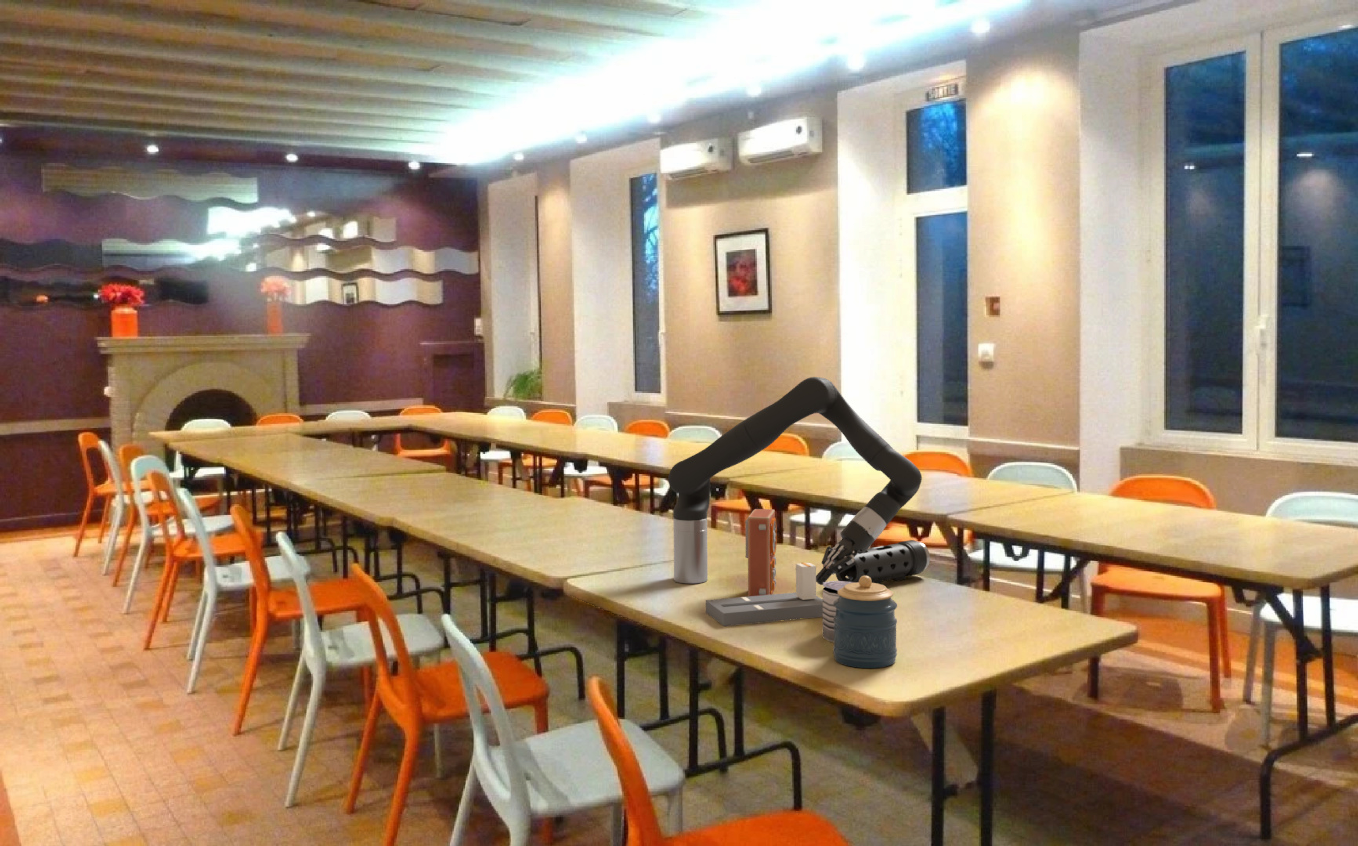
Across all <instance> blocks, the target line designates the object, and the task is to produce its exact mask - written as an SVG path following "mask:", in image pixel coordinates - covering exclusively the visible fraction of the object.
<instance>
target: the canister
mask: <svg viewBox="0 0 1358 846" xmlns="http://www.w3.org/2000/svg"><path fill="white" fill-rule="evenodd" d="M838 595H839V598H838V599H836V600H835V601H834V603H833V604H834V606H835V607H836V615H835V616H834V619H833V620H834V643H833V647H832V648H833V651H832V652H833V655H834V656H833V657H834V660H835V661H836V662H837V663H839V664H842V665H843V666H848V667H852V668H859V669H860V668H861V669H878V668H884V667H888V666H892V665H893V664H894V663H896V661H897V660H896V658H897V655H898V649H897V623H898V619H897V618H896V615H895V610H896V609H897V608H898V603H897V602H896V601H895V600H893V598H892V597H893V596H894V592H893V591H892V590H891V589H889V588H887V587H886V586H885V585H884V584H878V583H872V581H871V578H870V577H869V576H862V577H860V579H859V582H857V583H850V584H847V585H845V586H844V587H843V588H841V589H839V590H838Z"/></svg>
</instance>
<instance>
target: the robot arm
mask: <svg viewBox="0 0 1358 846" xmlns="http://www.w3.org/2000/svg"><path fill="white" fill-rule="evenodd" d="M814 414H819V415H821V416H823V418H825V419H826V420H828V421H829V422H831V423H832V424H833V425H834V426H835V427H836V428H837V429H838V430H839V432H841V433H842V435H843V436H844V438H845V439H846V440H847V442H848V443H849V445H850V446H851V447H852V448H853V450H854V451H855V452H856V453H857V454H858V455H859V456H860V457H861V458H862V459H863V460H864V461H865V462H866V463H867V464H868V465H869V466H871V467H872V469H874V470H875V471H879V472H882V474H883V475H885V477H887V478H888V479H889V482H888V483H887V484H886V485H885V486H884V487H883V488H882V490H881V491H878V492H877V493H876V494H875V495H873V497H872V498H871V499H870V500H869V501H868V502H867V504H865V505H864V507H863V508H861V510H859V511H858V512H857V513H856V514H855V515H854V517H853V518H851V520H850V521H849V522H848V523H847V524H846V525H845V527H844V528H843V529H842V530H841V531H840V534H839V535H840V537H841V540H839V541H838V542H837V543H836V544H835V546H834V547H831V546H830V545H828V546H827V547H826V549H825V552H824V555H823V557H822V560H821V564H822V568H821V570H819V571H818V573H816V584H817V585H820V586H823V582H827V581H828V580H829V578H830V577H831V576H832V575H836V574H840V573H841V572H843V571H845V570H846V569H848V568H850V567H852V566H853V565H855V564H856V561H855V560H854V557H855V556H856V555H857V553H858V552H860V553H864V552H865V551H866V550H867V549H869V548H871V546H872V544H873V543H874V542H875V541H876V540H877V539H878V538H879V536H880V535H881V534H882V533H883V531H884V530H885V528H886V527H887V525H889V524H890V522H891V521H892V520H893V519H894V517H895V516H896V515H897V513H898V512H899V511H900V510H901V509H902V508H903V507H905V505H906V504H907V503H908V502H910V501H911V499H913V498H914V496H915V495H916V494H917V493H918V491H919V489H920V486H921V484H922V479H923V477H922V473H921V471H920V469H919V468H918V466H917V465H915V464H914V462H912V461H911V460H910V459H908V458H907V457H906V456H904V455H902V454H901V453H900V452H898V451H897V450H895V449H894V448H893V447H892V446H891V445H890V444H889V443H888V442H887V441H886V440H885V439H884V438H883V437H882V436H880V434H879V433H877V431H875V430H874V429H873V428H872V427H871V426H870V425H869V424H868V423H867V422H866V421H865V420H864V419H863V418H861V416H860V415H859V414H858V413H857V412H856V411H855V410H854V408H853V407H852V406H851V405H849V403H848V402H847V400H846V399H845V398H844V397H843V395H842V394H841V392H840V391H839V390H838V389H837V387H836V386H835V385H834V383H833V382H832V381H831V380H829V379H827V378H824V377H817V376H811V377H807V378H805V379H804V380H802V381H800V382H799V383H797V384H796V386H795V387H793V388H792V389H790V390H789V391H788V392H787V393H786V394H784V395H783V396H782V397H781V398H779V399H778V400H777V401H775V402H774V403H772V404H769V405H767V407H764V408H763V409H760V410H759V411H758V412H756V413H754V414H752V415H750V416H749V417H747V418H746V419H744V420H743V421H741V422H740V423H738V424H736V425H735V426H733V427H731V429H729V430H727V431H726V432H725V433H724V434H722V435H721V436H719V437H718V438H717V439H716V440H714V441H713V442H712V443H711V444H710V445H708V446H707V447H705V448H704V449H702V450H700V451H699V452H696V453H695V454H693V455H691V456H689V457H687V458H685V459H683V460H681V461H680V460H679V461H678V462H677V463H675V464H674V465H673V466H672V467H671V469H670V471H669V474H668V485H669V487H670V489H671V490H672V491H673V492H675V493H677V495H678V496H677V500H676V503H675V505H674V508H673V509H672V510H673V513H672V516H673V517H672V519H673V525H672V526H673V581H674V582H675V583H676V582H677V583H680V584H701V583H705V582H707V581H708V579H709V577H708V575H709V574H708V572H709V571H708V567H709V565H708V510H709V507H710V502H711V501H710V497H711V496H710V495H711V478H712V477H714V476H715V475H717V474H720V472H722V471H725V470H726V469H729V468H731V467H733V466H736V465H738V464H740V463H742V462H744V461H747V460H748V459H750V458H752V457H754V456H756V455H757V454H758V453H760V452H762V451H764V450H765V449H767V448H768V447H770V446H771V445H772V444H773V443H775V441H776V440H777V439H778V438H779V437H780V436H781V435H782V434H783V433H784V432H785V431H786V430H787V429H789V427H791V426H792V425H794V424H796V423H798V422H799V421H802V419H805V418H807V417H809V416H811V415H814ZM835 573H836V574H835Z"/></svg>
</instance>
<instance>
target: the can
mask: <svg viewBox="0 0 1358 846" xmlns="http://www.w3.org/2000/svg"><path fill="white" fill-rule="evenodd" d="M850 583H855V582H845V581H838V580H832V581H826V582H823V585H822V586H823V588H822V599H823V617H822V638H823V637H824V638H825V639H824V638H823V639H824V640H826V641H827V640H828V641H827V642H829V641H830V643H833V642H834V620H833V619H834V616H835V615H836V607H835V606H834V604H833V603H834V601H835V600H836V599H838V598H839V595H838V590H839V589H841V588H843V587H844V586H845V585H847V584H850Z"/></svg>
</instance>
